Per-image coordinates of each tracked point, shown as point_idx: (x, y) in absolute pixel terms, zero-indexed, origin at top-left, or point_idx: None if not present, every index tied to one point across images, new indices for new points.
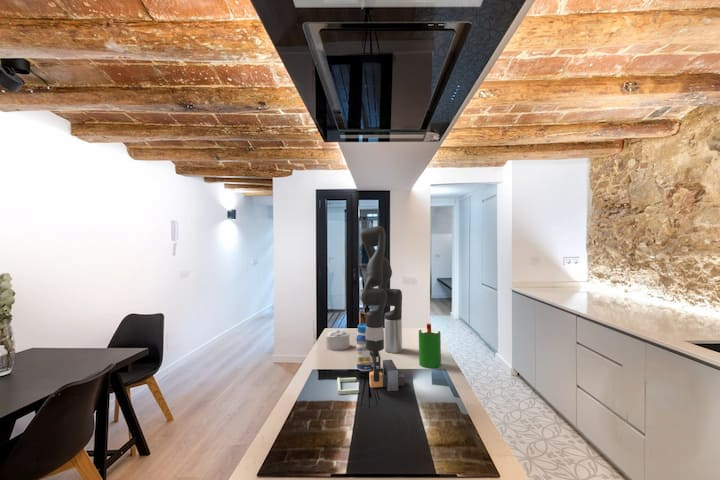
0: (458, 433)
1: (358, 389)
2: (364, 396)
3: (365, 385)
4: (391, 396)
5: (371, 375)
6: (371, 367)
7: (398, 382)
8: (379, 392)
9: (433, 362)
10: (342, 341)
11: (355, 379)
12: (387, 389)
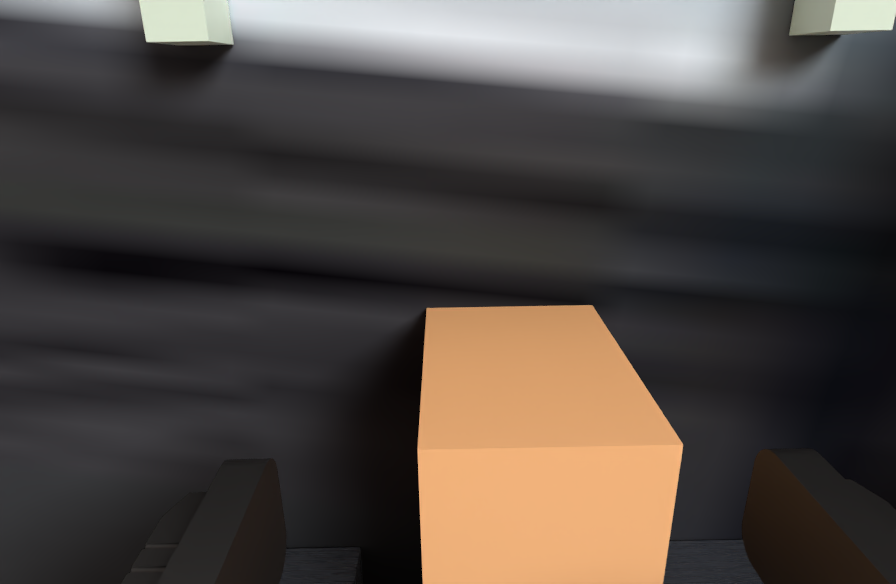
0: None
1: (172, 34)
2: (37, 151)
3: (534, 220)
4: (88, 565)
5: (420, 466)
6: (860, 567)
7: None
8: (220, 427)
9: None
10: None
11: (819, 8)
12: (314, 551)
